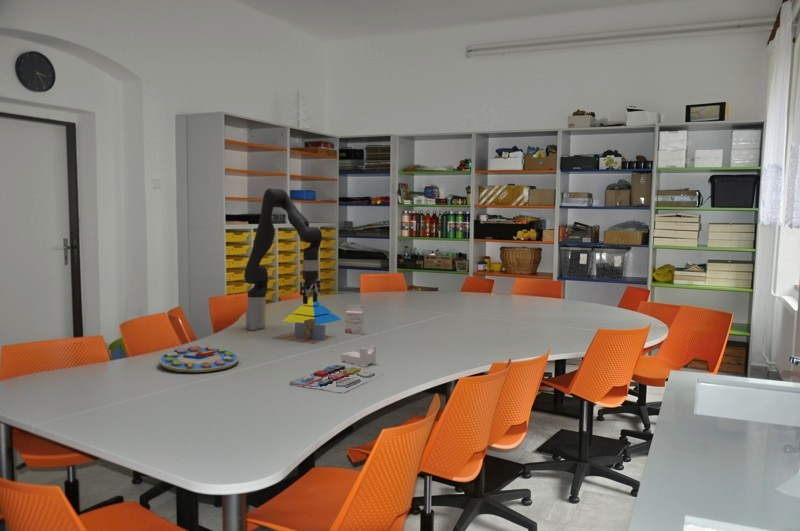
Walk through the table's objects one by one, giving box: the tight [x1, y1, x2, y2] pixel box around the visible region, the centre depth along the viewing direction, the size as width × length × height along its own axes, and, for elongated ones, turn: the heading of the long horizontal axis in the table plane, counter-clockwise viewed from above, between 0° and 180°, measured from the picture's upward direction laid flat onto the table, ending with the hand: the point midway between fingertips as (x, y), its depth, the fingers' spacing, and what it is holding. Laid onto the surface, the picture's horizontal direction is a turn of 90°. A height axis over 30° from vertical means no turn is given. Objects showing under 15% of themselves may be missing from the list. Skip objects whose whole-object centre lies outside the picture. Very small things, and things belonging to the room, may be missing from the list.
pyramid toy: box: [282, 296, 342, 325], centre depth 367 cm, size 25×25×14 cm
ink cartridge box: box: [344, 304, 364, 336], centre depth 328 cm, size 9×5×15 cm, turn 84°
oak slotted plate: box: [304, 319, 316, 340], centre depth 311 cm, size 2×6×9 cm, turn 155°
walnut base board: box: [270, 331, 336, 345], centre depth 313 cm, size 24×20×1 cm
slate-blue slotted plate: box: [294, 322, 326, 341], centre depth 311 cm, size 16×2×7 cm, turn 65°
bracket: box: [340, 345, 377, 367], centre depth 268 cm, size 13×7×8 cm, turn 52°
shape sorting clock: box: [158, 345, 240, 374], centre depth 259 cm, size 31×30×6 cm
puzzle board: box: [289, 364, 376, 388], centre depth 241 cm, size 30×23×3 cm
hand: (310, 302), depth 310 cm, fingers open, 8 cm apart
